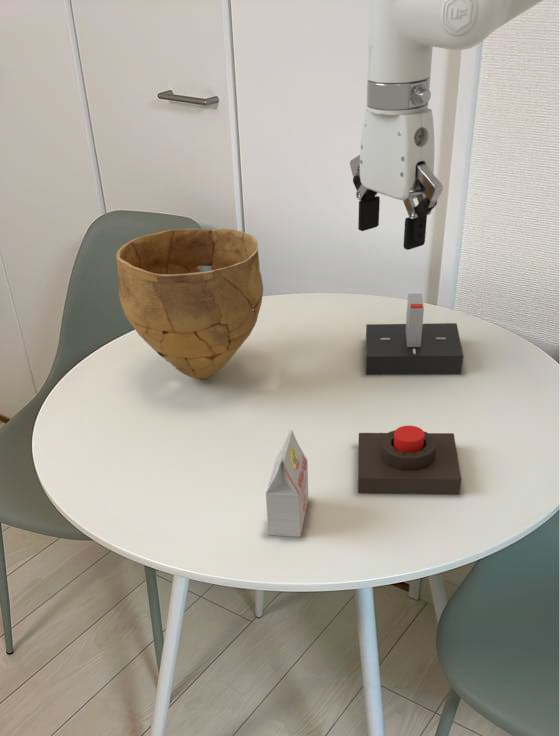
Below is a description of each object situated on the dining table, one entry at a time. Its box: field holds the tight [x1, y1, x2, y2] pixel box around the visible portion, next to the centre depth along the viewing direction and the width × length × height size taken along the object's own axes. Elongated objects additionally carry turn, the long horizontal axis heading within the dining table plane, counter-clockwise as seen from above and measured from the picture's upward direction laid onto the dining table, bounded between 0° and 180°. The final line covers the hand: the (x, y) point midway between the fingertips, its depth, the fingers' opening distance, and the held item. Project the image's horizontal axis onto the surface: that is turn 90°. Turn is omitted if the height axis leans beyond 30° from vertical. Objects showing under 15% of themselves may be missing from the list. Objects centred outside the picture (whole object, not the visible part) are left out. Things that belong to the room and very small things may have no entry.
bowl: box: [115, 228, 264, 380], centre depth 109 cm, size 21×20×20 cm
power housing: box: [357, 429, 462, 495], centre depth 93 cm, size 12×10×4 cm
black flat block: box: [365, 322, 464, 376], centre depth 115 cm, size 14×11×3 cm
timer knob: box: [405, 293, 425, 347], centre depth 113 cm, size 6×2×6 cm, turn 174°
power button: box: [394, 425, 425, 452], centre depth 91 cm, size 4×4×2 cm
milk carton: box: [265, 429, 309, 538], centre depth 85 cm, size 4×7×10 cm, turn 169°
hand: (390, 237), depth 103 cm, fingers open, 9 cm apart
